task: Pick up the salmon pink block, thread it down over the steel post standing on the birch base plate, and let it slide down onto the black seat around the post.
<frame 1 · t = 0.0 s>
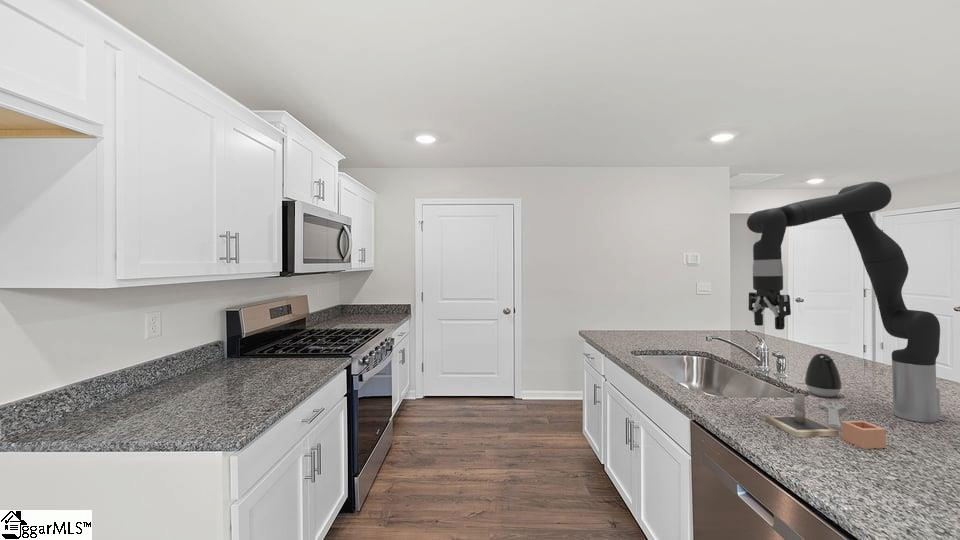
hand: (768, 327, 122), 29 cm above the worktop, tool pointing down, fingers open, 8 cm apart
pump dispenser: (823, 395, 145), on the worktop
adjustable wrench: (830, 418, 125), on the worktop
post plate: (800, 428, 117), on the worktop
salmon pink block: (863, 443, 106), on the worktop
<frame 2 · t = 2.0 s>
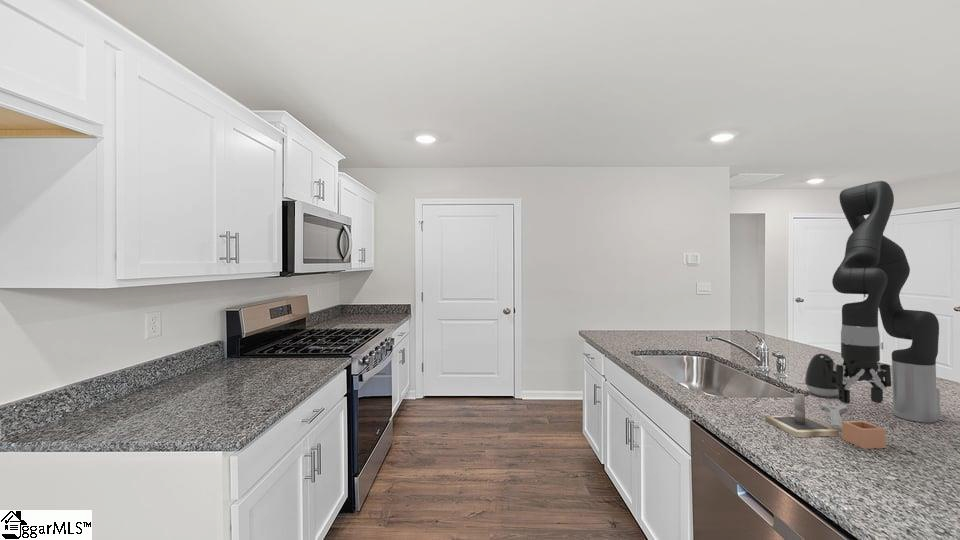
hand: (860, 402, 106), 11 cm above the worktop, tool pointing down, fingers open, 8 cm apart
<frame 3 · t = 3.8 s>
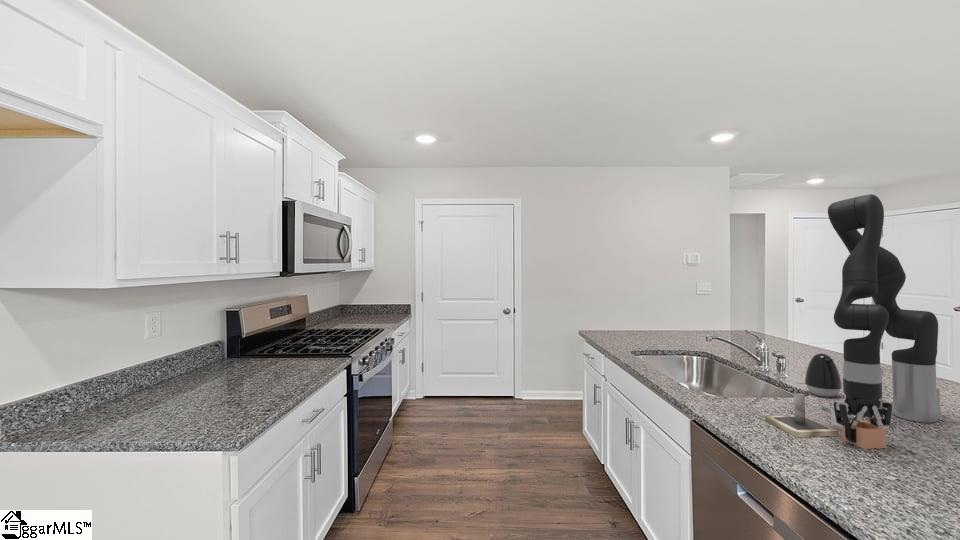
hand: (863, 440, 106), 1 cm above the worktop, tool pointing down, fingers closed on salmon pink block, 6 cm apart
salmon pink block: (863, 443, 106), on the worktop, touching gripper
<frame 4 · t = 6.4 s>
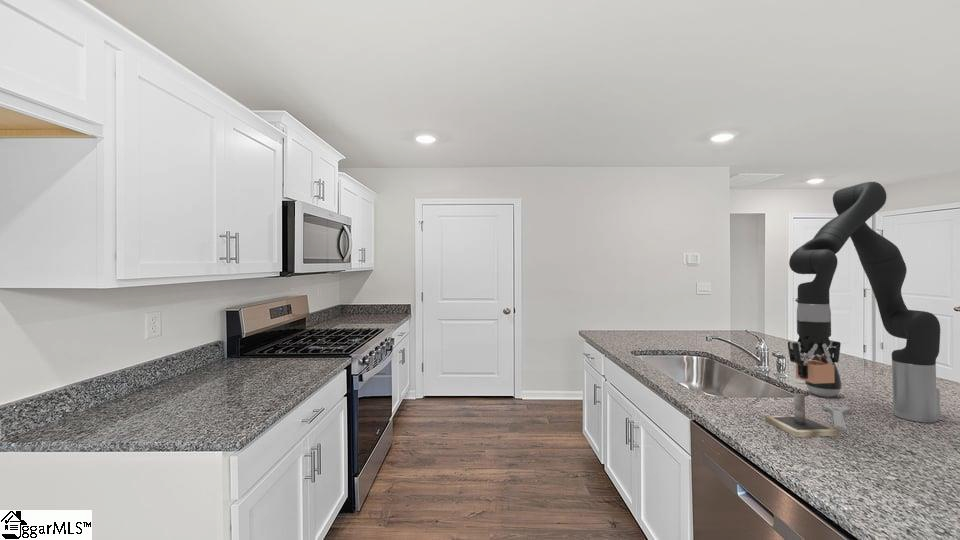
hand: (814, 377, 114), 16 cm above the worktop, tool pointing down, fingers closed on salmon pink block, 6 cm apart
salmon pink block: (814, 380, 114), point 15 cm above the worktop, touching gripper
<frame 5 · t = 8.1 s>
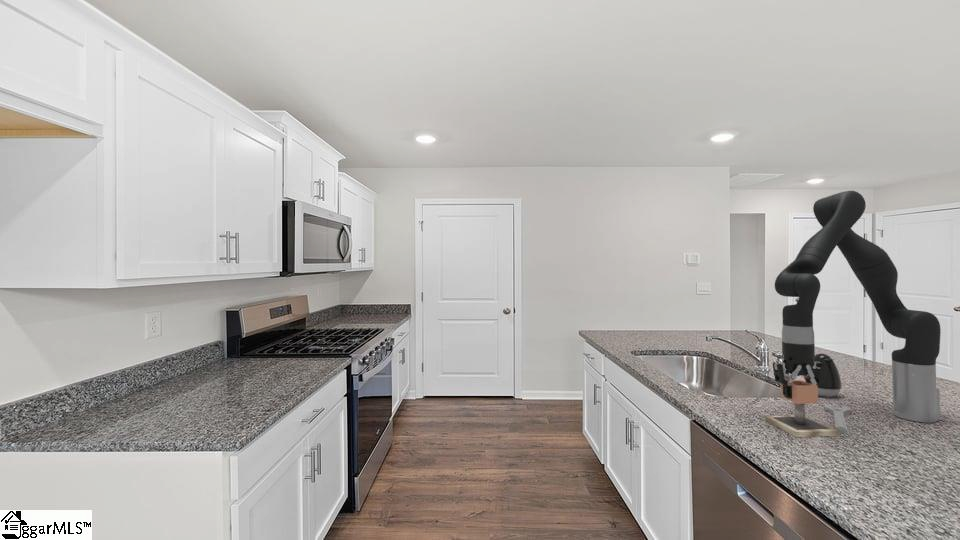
hand: (798, 397, 117), 9 cm above the worktop, tool pointing down, fingers closed on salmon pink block, 6 cm apart
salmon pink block: (799, 400, 117), point 8 cm above the worktop, touching gripper
when the fingers open (7 cm above the worktop, at t = 9.4 s): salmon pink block drops 5 cm, resting on post plate.
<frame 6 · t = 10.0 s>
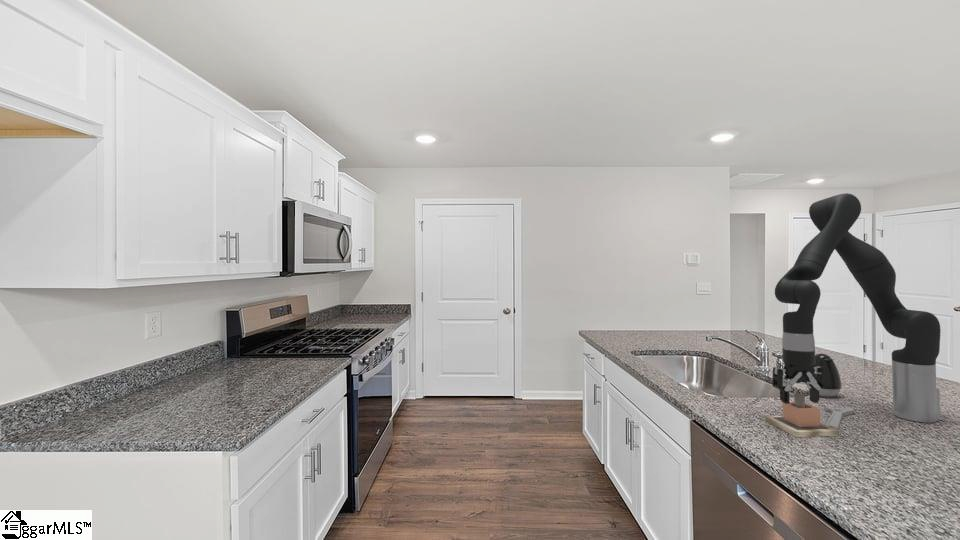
hand: (799, 402, 117), 8 cm above the worktop, tool pointing down, fingers open, 8 cm apart
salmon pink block: (801, 422, 117), point 2 cm above the worktop, touching post plate
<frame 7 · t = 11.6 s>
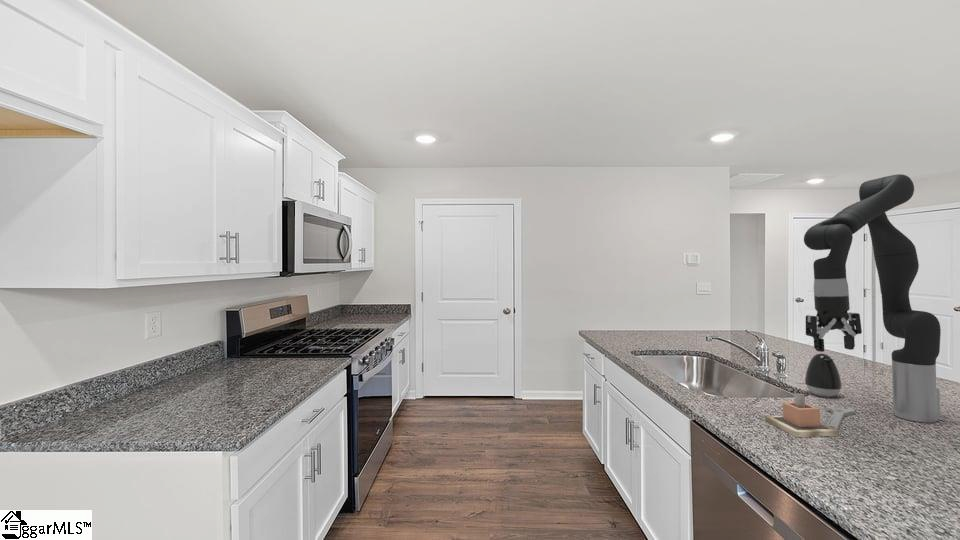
hand: (834, 350, 114), 23 cm above the worktop, tool pointing down, fingers open, 8 cm apart
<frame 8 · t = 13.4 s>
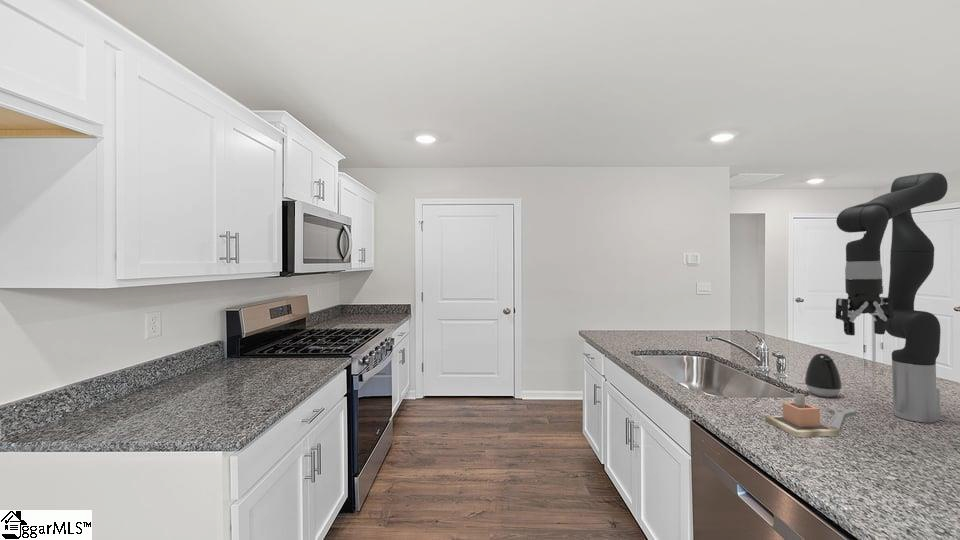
hand: (864, 334, 112), 28 cm above the worktop, tool pointing down, fingers open, 8 cm apart
at the end: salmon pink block 0.3 cm off-centre on the post plate, point 1.7 cm above the post plate's base; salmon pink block tilted 0°; the gripper is holding nothing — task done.
